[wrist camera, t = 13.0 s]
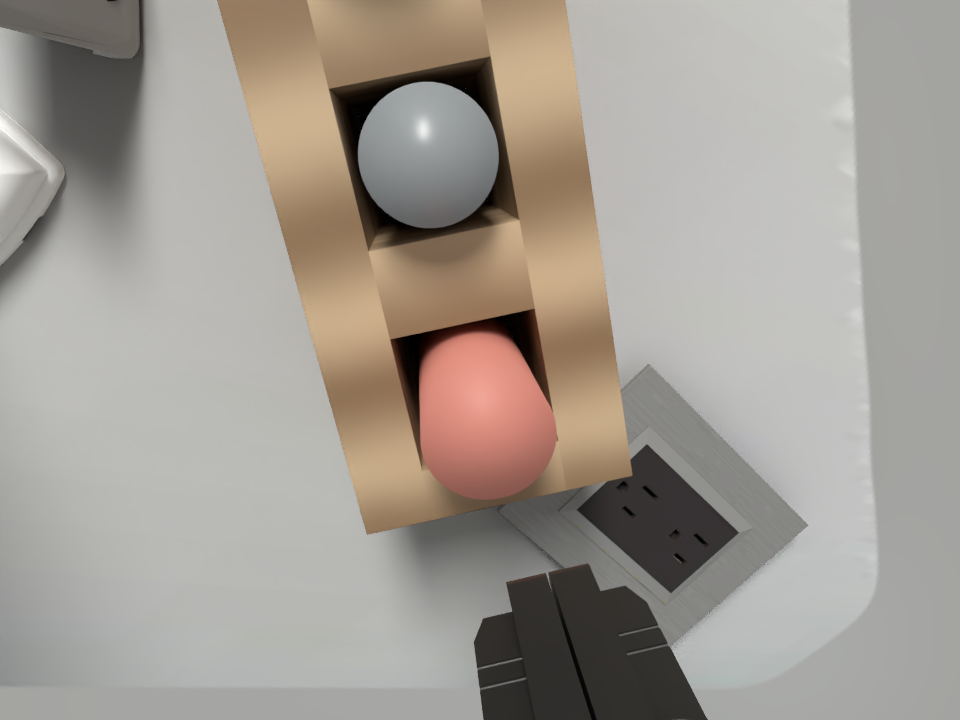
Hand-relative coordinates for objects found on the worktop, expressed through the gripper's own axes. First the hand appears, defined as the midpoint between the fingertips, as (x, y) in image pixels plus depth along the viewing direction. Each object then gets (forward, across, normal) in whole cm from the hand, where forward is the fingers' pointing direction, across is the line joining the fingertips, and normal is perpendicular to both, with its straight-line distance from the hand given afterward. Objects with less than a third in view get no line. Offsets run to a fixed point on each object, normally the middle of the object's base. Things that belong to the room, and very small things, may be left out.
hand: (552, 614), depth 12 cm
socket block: (+22, 0, -8) cm, 24 cm away
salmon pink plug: (+18, 0, 0) cm, 18 cm away
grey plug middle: (+20, 0, -8) cm, 22 cm away
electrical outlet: (+23, -8, +12) cm, 27 cm away
